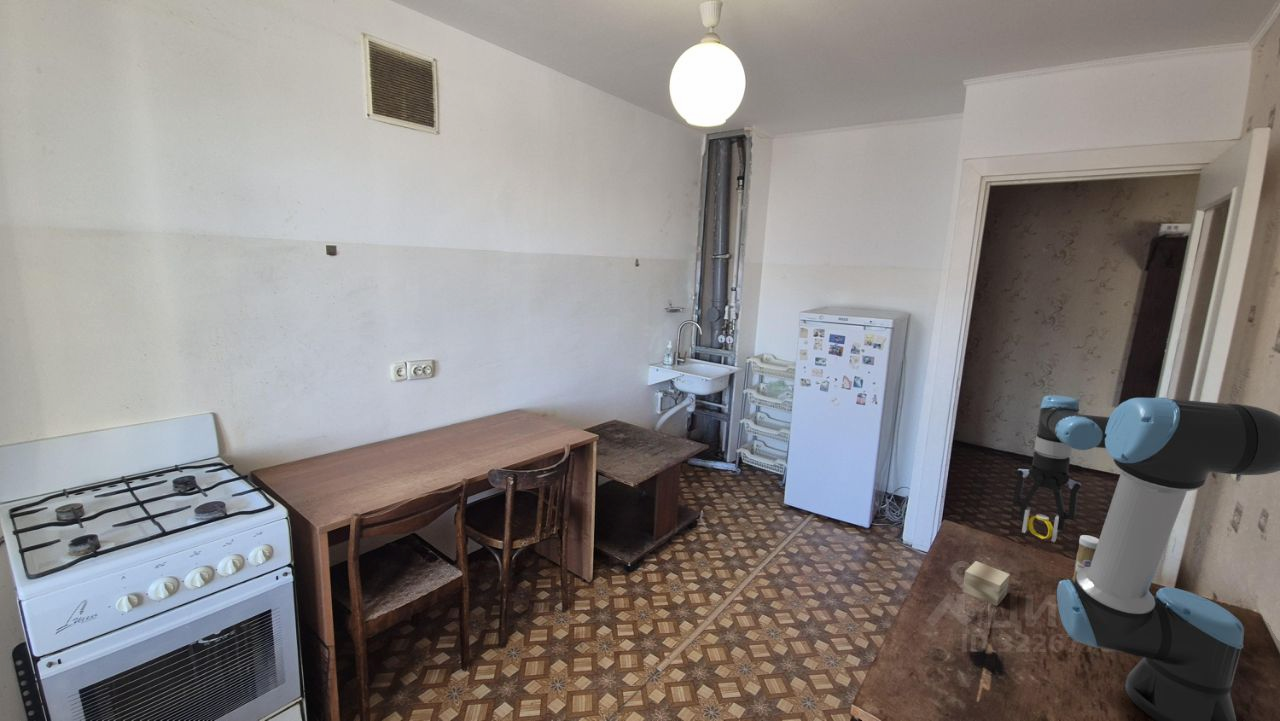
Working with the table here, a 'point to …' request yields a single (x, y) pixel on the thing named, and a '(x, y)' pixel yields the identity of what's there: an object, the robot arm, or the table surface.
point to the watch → (1042, 518)
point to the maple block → (986, 583)
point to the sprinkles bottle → (1085, 552)
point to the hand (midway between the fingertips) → (1038, 535)
